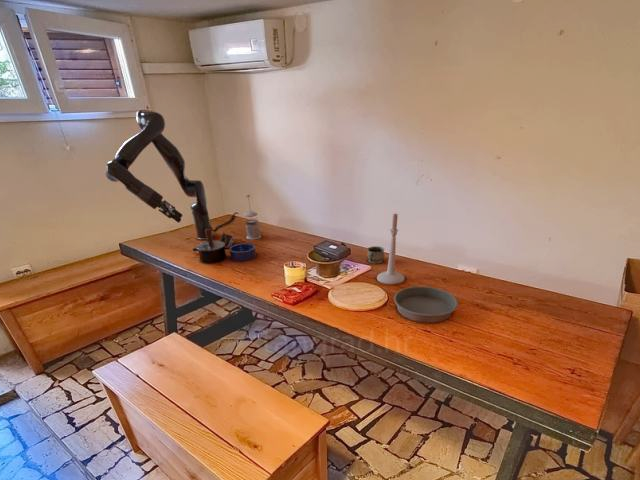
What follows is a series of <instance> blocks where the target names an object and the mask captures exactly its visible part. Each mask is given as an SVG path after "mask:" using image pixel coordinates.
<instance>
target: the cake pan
mask: <svg viewBox="0 0 640 480" xmlns="http://www.w3.org/2000/svg"><path fill="white" fill-rule="evenodd" d="M393 301H394V304H395V305H396V308H397V311H398V313H399V314H400V315H401V316H403V317H404V318H406V319H408V320H411V321H413V322H418V323H426V324H433V323H439V322H443V321H445V320H447V319H449V318H450V316H451V315H452V314H453V312H454V311H455V310H456V309H457V308H458V306H459V302H458V299H457V297H456V296H454V295H453V294H452V293H450V292H448V291H447V290H443V289H440V288H438V287H432V286H423V285H421V286H408V287H406V288H402V289H400V290H399V291H397V292H396V293H395V294H394V296H393Z"/></svg>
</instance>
